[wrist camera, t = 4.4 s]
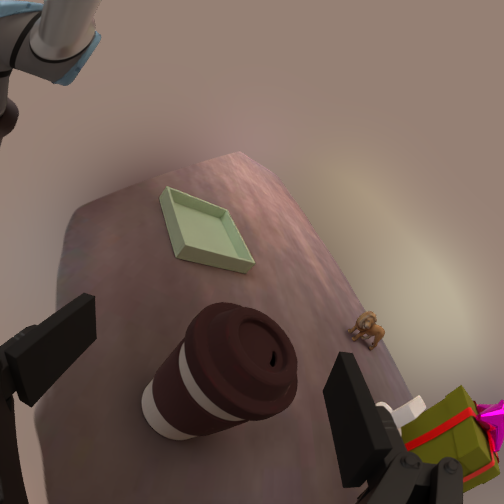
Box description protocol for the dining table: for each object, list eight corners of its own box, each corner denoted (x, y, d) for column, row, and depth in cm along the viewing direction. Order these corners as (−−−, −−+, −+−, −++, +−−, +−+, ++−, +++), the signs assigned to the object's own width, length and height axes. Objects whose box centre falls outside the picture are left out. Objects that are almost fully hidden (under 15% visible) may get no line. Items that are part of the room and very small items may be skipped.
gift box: (431, 511, 33) (528, 458, 23) (390, 504, 31) (518, 437, 21) (423, 447, 52) (504, 394, 42) (384, 423, 50) (482, 357, 40)
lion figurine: (346, 342, 66) (375, 320, 62) (339, 325, 70) (366, 303, 66) (374, 352, 73) (399, 333, 69) (367, 337, 77) (391, 319, 73)
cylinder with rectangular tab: (361, 463, 37) (422, 433, 32) (341, 421, 42) (399, 388, 37) (380, 448, 42) (432, 420, 37) (362, 412, 48) (412, 381, 43)
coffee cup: (112, 377, 25) (182, 292, 18) (185, 362, 33) (267, 287, 26) (156, 466, 20) (261, 429, 14) (225, 433, 28) (328, 378, 22)
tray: (158, 197, 55) (166, 185, 54) (219, 219, 67) (227, 209, 65) (175, 257, 46) (185, 244, 45) (245, 273, 57) (255, 263, 56)
